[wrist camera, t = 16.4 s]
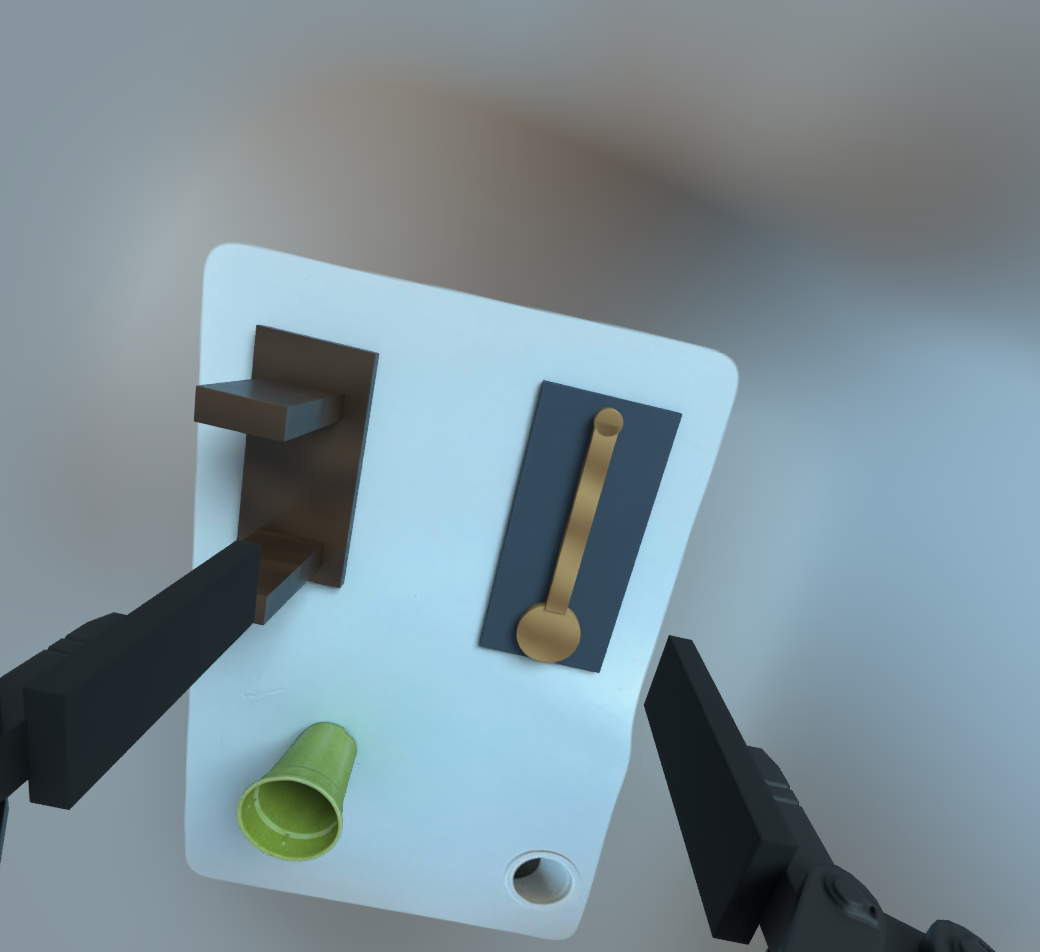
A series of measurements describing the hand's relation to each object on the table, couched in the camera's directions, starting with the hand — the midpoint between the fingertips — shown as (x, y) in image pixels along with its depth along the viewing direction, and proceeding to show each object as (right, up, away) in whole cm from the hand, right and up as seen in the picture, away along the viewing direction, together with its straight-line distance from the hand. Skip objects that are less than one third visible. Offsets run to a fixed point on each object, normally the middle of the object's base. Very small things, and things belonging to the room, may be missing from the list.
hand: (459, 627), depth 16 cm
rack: (-17, +6, +29) cm, 34 cm away
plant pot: (-18, -23, +37) cm, 47 cm away
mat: (+7, -1, +30) cm, 30 cm away
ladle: (+7, -1, +29) cm, 30 cm away
